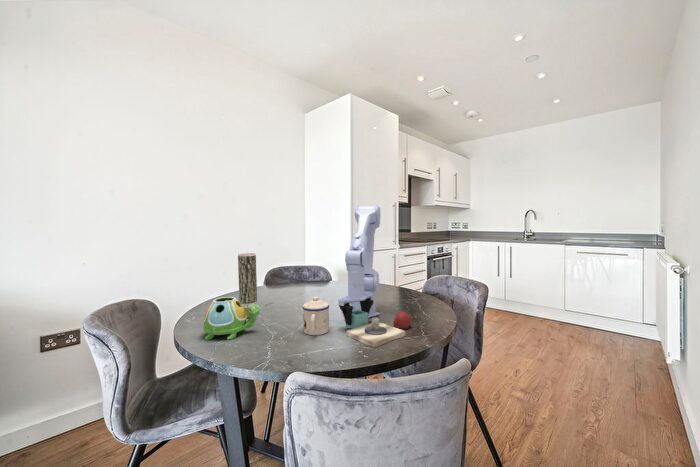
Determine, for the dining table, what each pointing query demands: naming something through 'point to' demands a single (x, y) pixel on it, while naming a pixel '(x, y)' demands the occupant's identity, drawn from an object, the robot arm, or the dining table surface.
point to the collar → (358, 319)
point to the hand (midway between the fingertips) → (356, 322)
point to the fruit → (402, 320)
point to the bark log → (247, 280)
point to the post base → (375, 333)
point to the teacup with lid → (316, 317)
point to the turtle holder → (228, 317)
